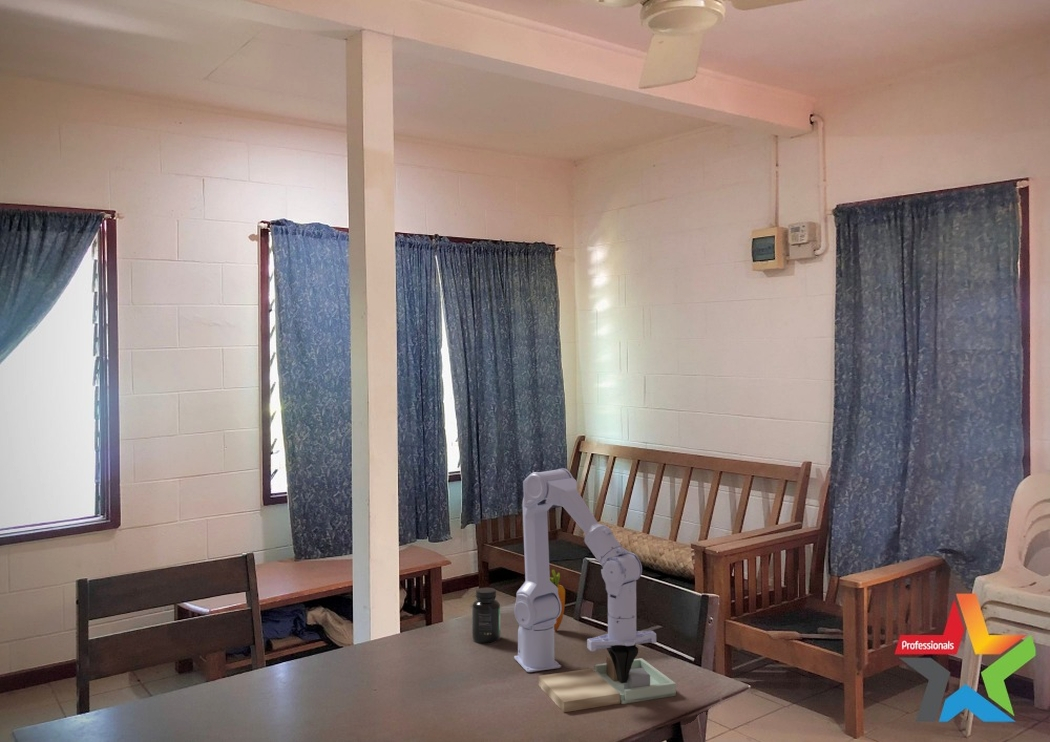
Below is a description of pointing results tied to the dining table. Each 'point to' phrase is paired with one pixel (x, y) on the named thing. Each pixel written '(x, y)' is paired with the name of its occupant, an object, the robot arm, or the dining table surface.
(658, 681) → the box
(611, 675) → the walnut block
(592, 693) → the birch plate
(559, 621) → the carrot
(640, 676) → the slate block
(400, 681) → the dining table surface
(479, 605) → the supplement bottle
